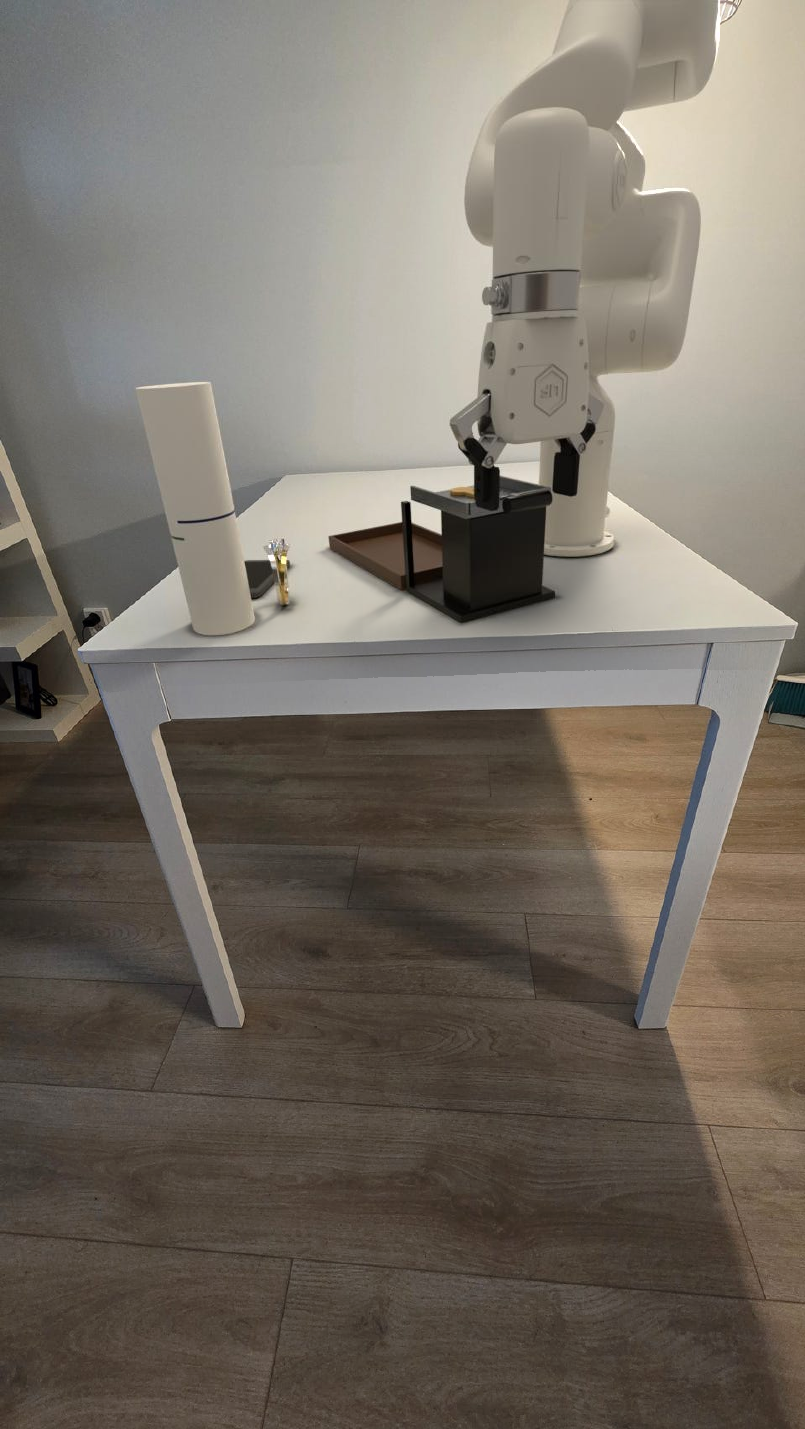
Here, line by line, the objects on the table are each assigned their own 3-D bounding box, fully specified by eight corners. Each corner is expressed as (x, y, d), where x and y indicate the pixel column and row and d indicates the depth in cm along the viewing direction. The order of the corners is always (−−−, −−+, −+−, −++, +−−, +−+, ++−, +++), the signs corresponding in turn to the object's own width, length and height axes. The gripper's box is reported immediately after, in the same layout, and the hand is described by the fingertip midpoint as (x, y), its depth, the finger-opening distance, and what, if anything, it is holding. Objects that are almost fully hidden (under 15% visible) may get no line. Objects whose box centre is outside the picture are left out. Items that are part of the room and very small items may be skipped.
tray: (329, 548, 100) (328, 536, 99) (408, 532, 105) (407, 520, 104) (401, 590, 82) (400, 576, 81) (492, 568, 87) (492, 554, 86)
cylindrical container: (239, 636, 72) (189, 386, 59) (181, 634, 73) (120, 390, 61) (264, 612, 78) (223, 380, 65) (210, 611, 79) (159, 384, 67)
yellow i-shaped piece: (445, 492, 76) (445, 489, 76) (465, 489, 77) (465, 485, 77) (478, 502, 71) (478, 499, 71) (499, 498, 72) (499, 495, 72)
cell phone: (205, 598, 83) (204, 592, 83) (244, 564, 95) (243, 559, 94) (259, 598, 82) (258, 592, 81) (292, 564, 94) (291, 559, 93)
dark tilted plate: (410, 500, 76) (409, 480, 75) (488, 486, 80) (488, 467, 79) (487, 526, 63) (487, 503, 62) (573, 508, 68) (575, 486, 67)
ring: (295, 613, 77) (285, 547, 73) (268, 615, 77) (257, 549, 73) (301, 593, 83) (291, 531, 79) (276, 595, 83) (265, 533, 79)
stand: (405, 590, 81) (400, 501, 76) (492, 570, 86) (493, 485, 81) (461, 623, 71) (459, 523, 66) (555, 597, 76) (561, 502, 71)
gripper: (476, 300, 50) (475, 521, 59) (639, 295, 57) (617, 495, 65) (428, 307, 56) (434, 508, 65) (581, 302, 63) (568, 485, 71)
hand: (526, 501), depth 65 cm, fingers open, 9 cm apart
